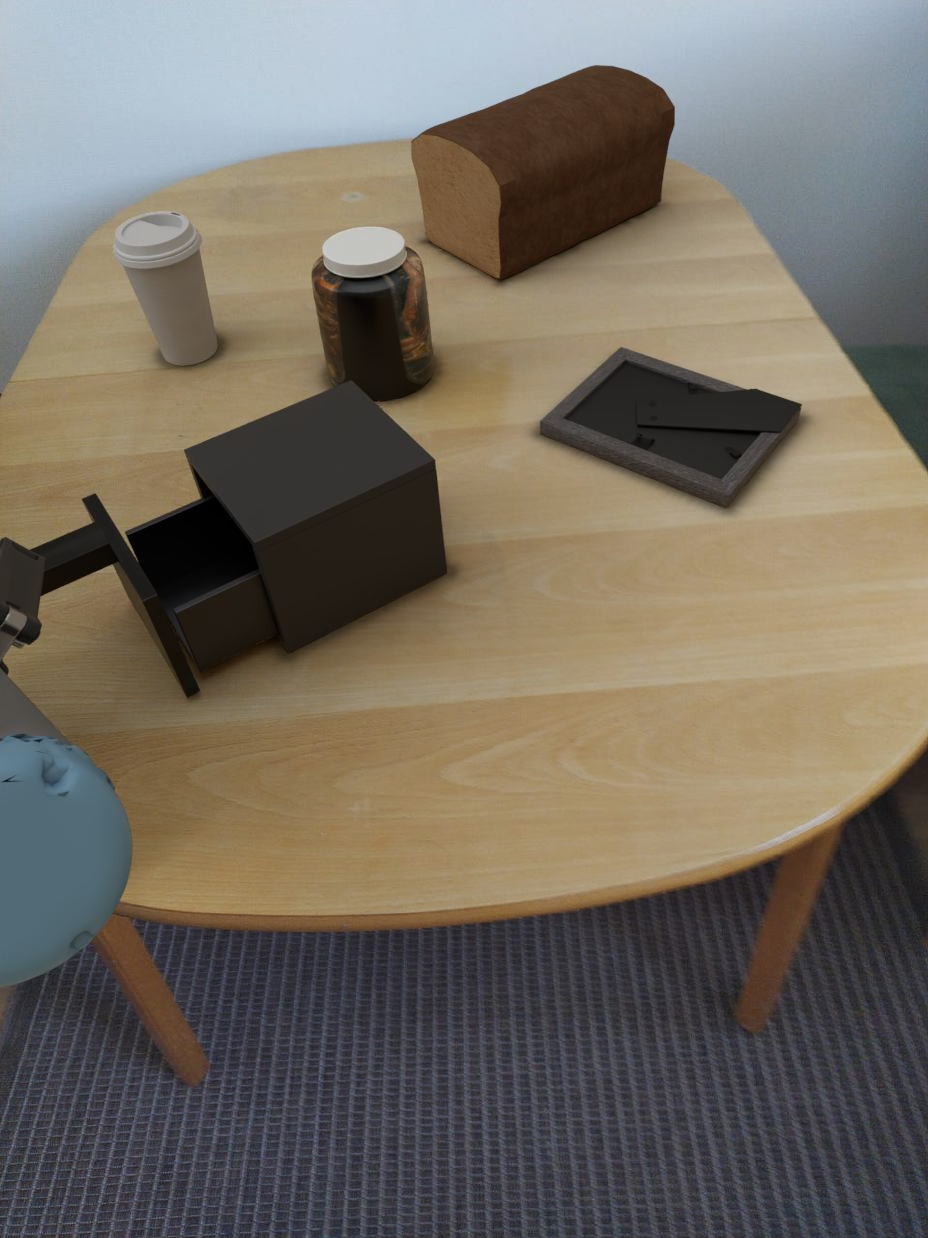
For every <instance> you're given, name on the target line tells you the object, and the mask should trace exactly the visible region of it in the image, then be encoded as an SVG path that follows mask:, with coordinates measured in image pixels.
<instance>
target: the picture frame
mask: <svg viewBox="0 0 928 1238" xmlns="http://www.w3.org/2000/svg"><path fill="white" fill-rule="evenodd" d="M802 405H803V404H802V403H800V402H797V401H794V400H792V399H788V398H785V397H782V396H779V395H776V394H773V393H770V392H767V391H764V390H762V389H758V388H748V389H747V388H744V387H741V386H738V385H736V384H732V383H729V382H727V381H724V380H721V379H718V378H715V377H712V376H708V375H705V374H703V373H701V372H700V373H699V372H697V371H694V370H692V369H688V368H685V367H681V366H679V365H676V364H673V363H670V362H667V361H665V360H661V359H658V358H656V357H652V356H649V355H646V354H643V353H641V352H637V351H634V350H631V349H628V348H625V347H622V346H620V347H619V348H618V349H617V350H615V351H614V352H613V354H612V355H610V356H609V357H608V358H607V359H606V360H605V361H604V362H603V363H601V364H600V365H599V366H597V368H596V369H595V370H594V371H593V372H591V374H590V375H589V376H587V378H586V379H585V378H584V380H583V381H582V382H581V383H580V384H579V385H577V386H576V387H575V388H574V389H573V390H572V391H571V392H570V393H569V394H567V396H565V397H564V399H562V400H561V401H560V402H559V403H558V404H557V405H555V407H553V409H551V410H550V411H549V412H548V413H547V414H546V415H544V417H542V419H541V420H539V434H540V435H543V436H545V437H547V438H550V439H552V440H555V441H558V442H559V443H562V444H565V445H567V446H570V447H573V448H575V449H578V450H580V451H582V452H584V453H588V454H590V455H592V456H594V457H598V458H600V459H603V460H604V461H608V462H610V463H613V464H615V465H618V466H620V467H622V468H625V469H628V470H630V471H632V472H635V473H637V474H639V475H643V476H645V477H647V478H649V479H652V480H655V481H658V482H659V483H662V484H665V485H668V486H670V487H672V488H675V489H678V490H680V491H683V492H685V493H688V494H690V495H693V496H695V497H698V498H700V499H702V500H705V501H707V502H710V503H712V504H715V505H718V506H720V507H722V508H725V509H727V508H728V507H729V505H730V504H731V503H732V501H733V500H734V499H735V498H736V497H737V496H738V495H739V493H740V492H741V491H742V489H743V488H744V487H745V486H746V485H747V483H748V482H749V481H750V480H751V478H752V477H754V475H755V473H756V472H757V471H758V470H759V469H760V468H761V466H762V465H763V464H764V463H765V461H766V460H767V459H768V458H769V457H770V455H772V453H773V452H774V451H775V449H776V448H777V447H778V446H779V445H780V443H782V441H783V439H784V438H785V437H786V436H787V435H788V433H789V432H790V431H791V430H792V429H793V428H794V426H795V425H796V424H797V422H798V421H799V420H800V419H799V418H800V415H801V411H802Z"/></svg>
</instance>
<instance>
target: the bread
mask: <svg viewBox="0 0 928 1238" xmlns="http://www.w3.org/2000/svg"><path fill="white" fill-rule="evenodd" d="M675 121H676V106H675V104H674V103H673V102H672V100H671V99H670V97H669V95H668V94H667V92H666V90H665V89H664V88H663V87H661V86H660V85H659V84H657V83H656V82H654V81H652V80H651V79H649V78H648V77H647V76H644V75H642V74H640V73H637V72H635V71H632V70H630V69H626V68H623V67H619V66H615V65H603V64H601V65H600V64H594V65H590V66H589V65H588V66H587V67H584V68H582V69H578V70H576V71H573V72H571V73H568V74H566V75H564V76H562V77H559V78H557V79H554V80H552V81H550V82H547V83H544V84H542V85H539V86H536V87H533V88H531V89H529V90H527V91H525V92H523V93H521V94H519V95H516V96H513V97H509V98H507V99H504V100H503V101H500V102H497V103H495V104H492V105H490V106H487V107H485V108H483V109H480V110H476V111H473V112H469V113H467V114H464V115H461V116H459V117H456V118H454V119H451V120H447V121H445V122H442V123H439V124H436V125H433V126H431V127H429V128H427V129H426V130H423V131H422V132H420V133H419V134H418V135H416V137H414V138H413V139H412V140H411V141H410V144H411V145H410V153H411V155H410V156H411V162H412V165H413V169H414V173H415V176H416V180H417V185H418V190H419V196H420V202H421V208H422V209H421V210H422V216H423V224H424V225H423V226H424V232H425V239H426V240H428V241H429V242H430V243H432V244H433V245H434V246H436V247H438V248H440V249H441V250H443V251H445V252H447V253H448V254H451V255H453V256H454V257H456V258H458V259H459V260H461V261H463V262H465V263H467V264H468V265H470V266H472V267H474V268H476V269H478V270H479V271H482V272H483V273H485V274H487V275H488V276H490V277H492V278H494V279H497V280H503V279H506V278H508V277H510V276H512V275H516V274H517V273H519V272H521V271H523V270H525V269H527V268H529V267H531V266H533V265H535V264H537V263H540V262H541V261H544V260H545V259H547V258H549V257H552V256H554V255H557V254H558V253H562V252H563V251H565V250H567V249H570V248H571V247H573V246H575V245H577V244H579V243H581V242H583V241H584V240H587V239H590V238H592V237H594V236H596V235H598V234H600V233H603V232H604V231H606V230H608V229H610V228H612V227H614V226H616V225H617V224H620V223H622V222H623V221H626V220H627V219H630V218H631V217H634V216H636V215H639V214H640V213H643V212H644V211H646V210H648V209H650V208H651V207H652V208H653V207H654V206H656V205H658V204H659V203H661V202H662V193H663V191H662V190H663V183H664V174H665V168H666V163H667V158H668V151H669V146H670V140H671V137H672V134H673V131H674V129H675V124H676V122H675Z"/></svg>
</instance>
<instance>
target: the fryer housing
mask: <svg viewBox="0 0 928 1238" xmlns="http://www.w3.org/2000/svg"><path fill="white" fill-rule="evenodd" d="M183 452H184V455H185V458H186V459H187V463H188V467H189V469H190V473H191V475H192V477H193V480H194V483H195V486H196V489H197V491H198V495H199V498H200V499H201V498H203V497H205V496H208V495H210V494H212V493H213V494H214V495H215V497H216V498H217V499H218V501H219V502H220V503H221V505H222V506H223V507H224V509H225V510H226V511H227V513H228V514H229V515H230V517H231V518H232V519H233V521H234V522H235V523H236V525H237V526H238V527H239V529H240V530H241V531H242V533H243V534H244V535H245V537H246V538H247V539H248V541H249V542H250V543H251V545H252V547H253V551H254V554H255V557H256V560H257V563H258V566H259V570H260V573H261V576H262V579H263V582H264V585H265V589H266V592H267V595H268V598H269V601H270V604H271V608H272V611H273V614H274V617H275V620H276V623H277V626H278V630H279V634H277V635H275V636H276V638H277V639H278V640H279V642H280V644H281V645H282V646H283V648H284V649H285V650H286V652H287V653H288V654H291V653H293V652H295V651H297V650H299V649H301V648H303V647H305V646H307V645H308V644H311V643H313V642H315V641H316V640H319V639H320V638H322V637H324V636H326V635H329V634H330V633H332V632H334V631H336V630H338V629H340V628H342V627H344V626H346V625H348V624H350V623H351V622H354V621H356V620H358V619H360V618H362V617H363V616H366V615H367V614H369V613H371V612H374V611H375V610H377V609H379V608H381V607H383V606H385V605H387V604H389V603H391V602H393V601H395V600H397V599H398V598H401V597H403V596H405V595H407V594H408V593H411V592H413V591H415V590H416V589H418V588H420V587H422V586H424V585H426V584H428V583H430V582H433V581H434V580H436V579H438V578H440V577H442V576H443V575H445V574H447V573H448V569H447V567H448V566H447V559H446V547H445V539H444V530H443V529H444V528H443V520H442V510H441V500H440V491H439V481H438V473H437V472H438V471H437V463H436V459H435V457H433V456H432V455H431V454H430V453H429V452H428V451H426V449H425V448H424V447H423V446H421V444H419V442H417V440H415V439H414V438H413V437H412V436H411V435H410V434H409V433H408V432H407V431H406V430H405V429H404V428H402V426H401V425H399V423H397V422H396V421H395V420H394V419H393V417H391V416H390V415H389V414H388V413H387V412H386V411H385V410H384V409H383V408H382V407H380V405H378V403H376V402H375V400H372V399H371V398H370V397H369V396H368V395H367V394H365V393H364V392H363V391H362V390H361V389H360V388H359V387H358V386H357V385H356V384H355V383H354V382H353V381H352V380H351V381H348V382H346V383H344V384H341V385H339V386H336V387H334V386H333V387H332V388H329V389H327V390H324V391H321V392H320V393H316V394H314V395H313V396H309V397H307V398H305V399H303V400H300V401H297V402H296V403H293V404H291V405H288V406H286V407H283V408H281V409H279V410H276V411H273V412H271V413H269V414H267V415H264V416H262V417H259V418H256V419H255V420H252V421H250V422H246V423H244V424H242V425H240V426H237V427H234V428H233V429H231V430H228V431H225V432H223V433H221V434H218V435H216V436H213V437H211V438H209V439H206V440H203V441H201V442H199V443H197V444H194V445H192V446H189V447H186V448H185V449H183Z"/></svg>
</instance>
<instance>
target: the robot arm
mask: <svg viewBox="0 0 928 1238" xmlns="http://www.w3.org/2000/svg"><path fill="white" fill-rule="evenodd" d="M45 563H46V559H45V558H43V557H42V556H40V555H38V554H36V553H34V552H33V551H31V550H30V549H29V548H27V547H25V546H23V545H22V544H20V543H18V542H16V541H14V540H12V539H11V538H9V537H7V536H4V537H2V538H1V539H0V988H4V987H10V986H13V985H17V984H21V983H25V982H26V981H30V980H32V979H34V978H37V977H39V976H41V975H44V974H47V973H49V972H50V971H53V970H54V969H55V968H58V967H59V966H61V965H62V964H64V963H65V962H67V961H68V960H69V959H71V958H72V957H74V956H75V955H77V953H79V952H80V951H81V950H83V949H84V948H86V947H87V946H89V945H90V943H91V942H92V941H93V940H94V938H95V937H96V936H97V935H98V934H99V933H100V932H101V930H102V929H103V928H104V927H105V925H106V924H107V923H108V922H109V920H110V919H111V917H112V916H113V914H114V912H115V910H116V909H117V907H118V905H119V903H120V902H121V899H122V897H123V894H124V892H125V891H126V887H127V884H128V881H129V879H130V874H131V868H132V862H133V849H134V848H133V846H134V843H133V833H132V827H131V823H130V820H129V817H128V814H127V811H126V809H125V807H124V804H123V803H122V801H121V799H120V797H119V795H118V794H117V793H116V792H115V791H116V790H115V789H116V788H115V784H114V783H113V781H112V779H111V778H110V776H109V774H108V773H107V772H106V771H105V770H104V769H102V768H100V767H99V766H97V765H96V763H95V762H94V760H93V758H91V757H90V755H89V754H88V753H87V752H85V751H84V750H82V749H81V748H80V747H79V746H78V745H76V744H73V743H72V742H71V741H69V739H68V738H67V736H65V735H64V734H63V733H62V732H61V731H60V730H59V728H57V726H56V725H54V724H53V722H51V720H50V719H49V718H48V717H47V716H46V715H45V714H44V713H43V712H42V711H41V709H40V708H38V706H37V705H36V704H35V703H34V702H33V700H31V699H30V698H29V697H28V696H27V695H26V694H25V693H24V692H23V690H22V689H21V688H20V687H19V685H17V684H16V683H15V682H14V681H13V680H12V679H11V678H10V677H9V676H8V675H9V672H10V669H9V667H8V665H7V664H6V663H5V661H4V657H5V656H6V655H7V653H8V652H9V650H10V648H11V647H12V646H13V647H15V648H17V649H19V650H20V649H21V650H22V649H23V648H24V646H25V645H28V646H31V645H32V644H34V642H35V641H37V640H38V639H39V637H40V635H41V630H42V627H43V624H42V622H41V620H40V619H39V611H40V610H39V609H40V603H41V597H42V596H41V591H42V584H43V577H44V570H45Z"/></svg>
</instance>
